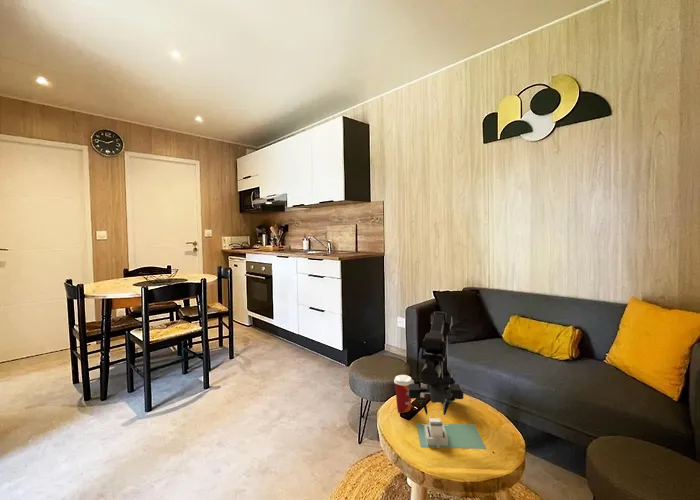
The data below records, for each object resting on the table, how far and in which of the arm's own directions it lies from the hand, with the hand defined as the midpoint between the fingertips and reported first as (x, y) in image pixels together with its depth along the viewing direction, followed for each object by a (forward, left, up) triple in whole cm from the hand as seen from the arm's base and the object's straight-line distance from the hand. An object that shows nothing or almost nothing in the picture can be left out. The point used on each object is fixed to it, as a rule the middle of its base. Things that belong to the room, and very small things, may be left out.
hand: (435, 414), depth 119 cm
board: (-2, +5, -10) cm, 11 cm away
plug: (0, 0, -9) cm, 9 cm away
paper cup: (-20, -10, -10) cm, 25 cm away
